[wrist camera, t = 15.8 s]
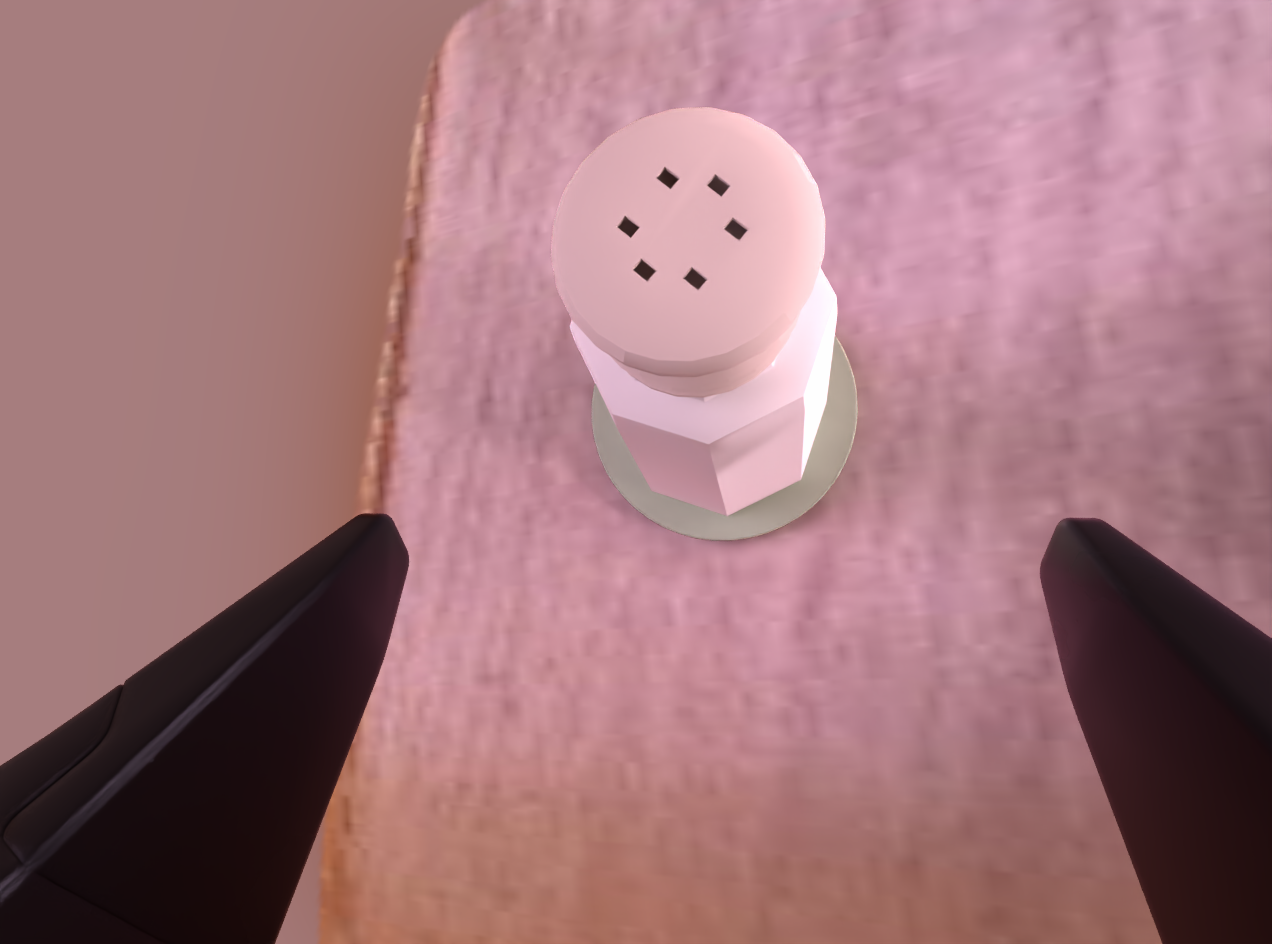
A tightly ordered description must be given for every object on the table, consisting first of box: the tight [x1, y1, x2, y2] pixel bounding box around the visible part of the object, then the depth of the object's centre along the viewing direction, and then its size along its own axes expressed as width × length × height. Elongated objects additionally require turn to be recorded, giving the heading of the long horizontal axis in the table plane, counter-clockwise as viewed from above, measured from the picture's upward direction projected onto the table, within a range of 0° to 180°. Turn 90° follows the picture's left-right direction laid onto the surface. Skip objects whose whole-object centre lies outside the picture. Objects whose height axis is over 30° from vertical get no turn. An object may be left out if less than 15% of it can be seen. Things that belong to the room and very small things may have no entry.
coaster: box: [592, 336, 858, 541], centre depth 18 cm, size 7×7×1 cm
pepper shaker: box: [551, 107, 837, 516], centre depth 12 cm, size 5×5×11 cm
